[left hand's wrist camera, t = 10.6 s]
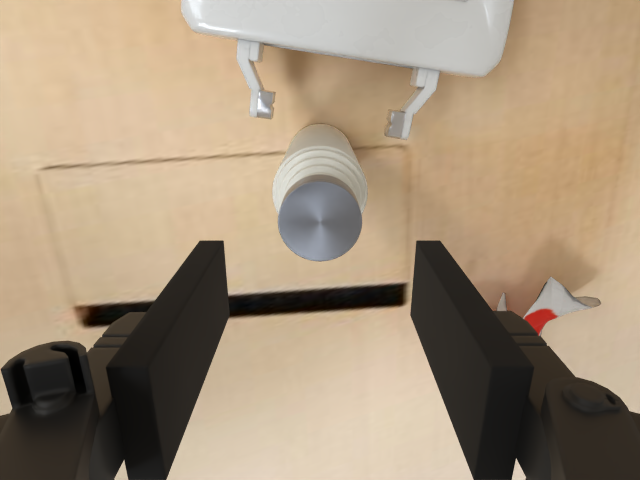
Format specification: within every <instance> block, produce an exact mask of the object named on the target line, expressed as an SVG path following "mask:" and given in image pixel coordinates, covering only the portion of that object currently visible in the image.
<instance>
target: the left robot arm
mask: <svg viewBox="0 0 640 480" xmlns="http://www.w3.org/2000/svg"><path fill="white" fill-rule="evenodd" d="M228 318H229V302H228V290H227V278H226V266H225V254H224V241H199V243H198V244H197V245H196V247H195V248H194V249H193V251H192V252H191V253H190V255H189V256H188V257H187V259H186V260H185V261H184V263H183V264H182V265H181V267H180V268H179V269H178V271H177V272H176V273H175V275H174V276H173V277H172V279H171V280H170V281H169V283H168V284H167V285H166V287H165V288H164V289H163V291H162V292H161V293H160V295H159V296H158V298H157V299H156V300H155V302H154V303H153V304H152V306H151V307H150V308H149V310H148V311H147V312H129V313H128V314H126V315H124V316H123V317H121V318H120V319H118V320H116V321H115V322H113V323H112V324H111V325H110V327H109V328H108V329H107V330H106V331H105V332H104V334H103V335H102V337H100V338H99V339H98V341H97V342H96V343H95V344H94V347H93V348H91V349H90V350H89V351H88V352H86V348H85V347H84V346H83V345H81V344H80V343H77V342H71V341H58V342H50V343H46V344H42V345H38V346H35V347H33V348H30V349H28V350H26V351H23V352H21V353H20V354H18V355H16V356H15V357H13V358H12V359H10V360H9V361H8V362H7V363H6V364H5V365H4V366H3V367H2V368H1V372H2V375H3V378H4V382H5V385H6V388H7V392H8V395H9V398H10V402H11V405H12V410H11V413H10V414H6V415H2V416H0V480H114V478H115V476H116V474H117V472H118V470H119V468H120V466H121V464H122V462H123V461H124V460H125V465H126V470H127V475H128V480H166V479H167V476H168V474H169V471H170V469H171V466H172V463H173V461H174V458H175V456H176V453H177V450H178V448H179V445H180V443H181V440H182V437H183V435H184V432H185V430H186V427H187V424H188V422H189V419H190V417H191V414H192V411H193V409H194V406H195V404H196V401H197V398H198V396H199V393H200V391H201V388H202V385H203V383H204V380H205V378H206V375H207V372H208V370H209V367H210V365H211V362H212V359H213V357H214V354H215V352H216V349H217V346H218V344H219V341H220V339H221V336H222V333H223V331H224V328H225V326H226V323H227V320H228ZM411 318H412V320H413V323H414V326H415V328H416V331H417V333H418V336H419V339H420V341H421V344H422V346H423V349H424V352H425V354H426V357H427V359H428V362H429V365H430V367H431V370H432V372H433V375H434V378H435V380H436V383H437V385H438V388H439V391H440V393H441V396H442V398H443V401H444V404H445V406H446V409H447V411H448V414H449V417H450V419H451V422H452V424H453V427H454V430H455V432H456V435H457V437H458V440H459V443H460V445H461V448H462V450H463V453H464V456H465V458H466V461H467V463H468V466H469V469H470V471H471V474H472V476H473V479H474V480H512V475H513V470H514V465H515V460H516V458H517V460H518V462H519V464H520V466H521V468H522V470H523V472H524V474H525V476H526V480H640V414H638V413H634V412H630V411H629V410H628V408H627V406H626V405H625V404H624V402H623V401H622V400H621V398H620V397H618V396H617V395H616V394H614V393H613V392H611V391H610V390H609V389H607V388H605V387H603V386H601V385H599V384H597V383H595V382H592V381H588V380H585V379H581V378H577V377H575V376H574V375H573V374H572V372H571V371H570V370H569V369H568V368H567V367H566V365H565V364H564V363H563V362H562V361H561V360H560V358H559V357H558V356H557V355H556V354H555V353H554V351H553V350H552V349H551V348H550V347H549V346H547V343H546V342H545V341H544V340H543V339H542V338H541V336H538V333H537V332H536V331H535V329H534V328H533V327H532V326H531V325H530V324H529V322H528V321H526V320H525V319H523V318H521V317H520V316H518V315H517V314H515V313H513V312H512V311H492V310H491V308H490V307H489V306H488V304H487V303H486V302H485V300H484V299H483V298H482V296H481V295H480V293H479V292H478V291H477V289H476V288H475V287H474V285H473V284H472V283H471V281H470V280H469V279H468V277H467V276H466V275H465V273H464V272H463V271H462V269H461V268H460V267H459V265H458V264H457V263H456V261H455V260H454V259H453V257H452V256H451V255H450V253H449V252H448V251H447V249H446V248H445V247H444V245H443V244H442V243H441V241H416V253H415V266H414V278H413V290H412V302H411Z"/></svg>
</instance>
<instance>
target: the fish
mask: <svg viewBox="0 0 640 480" xmlns="http://www.w3.org/2000/svg"><path fill="white" fill-rule="evenodd" d="M600 304H601V302H600V300H599V299H598V298H592V297H576V298H575V297H573V296H572V295H571V294H570V293H569V292H568V290H567V289H566V288H565V287H564V286H563V285H562V284H560V283H559V282H558V281H556V280H555V279H554V278H552V277H550V278H549V280H548V281H547V282H546V283H545V285H544V287H543V288H542V290H541V292H540V294H539V296H538V298H537V300H536V301H535V303H534V304H533V305H532V307H531V308H530V309H529V311H528V312H527V313H526V315H525V316H524V317H523V319H525V320H526V321H528V322H529V324H530V325H531V326H532V327H533V328H534V329H535V331H536V332H537V333H538V336H541V332H542V329H543V327H544V325H545V324H546V323H547V322H548V321H549V320H552V319H555V318H557V317H560V316H562V315H565V314H568V313H571V312H574V311H578V310H584V309H589V308H592V307H596V306H599V305H600ZM497 311H507V307H506V298H505V293H503V294H502V296H501V299H500V301H499V304H498V307H497Z"/></svg>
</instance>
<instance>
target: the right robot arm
mask: <svg viewBox="0 0 640 480" xmlns="http://www.w3.org/2000/svg"><path fill="white" fill-rule="evenodd" d="M513 4H514V0H181V12H182V15H183V17H184V19H185V20H186V22H187V24H188V25H189V27H190V28H191V29H192V30H193V31H194V32H196V33H198V34H201V35H204V36H209V37H215V38H222V39H228V40H234V41H238V46H237V61H238V63H239V66H240V68H241V70H242V72H243V75H244V77H245V79H246V82H247V84H248V86H249V89H251V100H250V117H256V118H264V119H272V118H273V114H274V107H273V105H272V104H273V103H274V102H275V95H276V92H272V91H266V90H264V87H263V85H262V82H261V80H260V77H259V75H258V72H257V70H256V67H255V65H254V62H259V63H261V62H262V58H263V48H264V45H266V46H272V47H279V48H285V49H291V50H298V51H304V52H310V53H317V54H323V55H329V56H336V57H342V58H348V59H355V60H361V61H367V62H374V63H380V64H387V65H393V66H399V67H406V68H412V69H413V70H412V75H411V81H410V85H411V86H413V87H418V88H417V89H416V90H415V92H414V93H413V94H412V95H411V97H410V98H409V99H408V100H407V102H406V103H405V104H404V105H403V107H402V108H401V109H400V111H397V110H388V115H387V121H388V123H387V124H386V125H385V131H384V135H385V136H386V137H392V138H397V139H404V140H407V139H408V136H409V133H410V128H411V124H412V119H413V114H416V113H417V112H418V110H419V109H420V108H421V107H422V106H423V105H424V103H425V102H426V101H427V100H428V99H429V97H430V96H431V95H432V94H433V93H434V92H435V90H436V87H437V83H438V79H439V74H440V73H444V74H450V75H456V76H463V77H470V78H478V77H484V76H486V75H487V74H488V73H489V72H491V71H492V70H493V69H494V68H495V67H496V66H497V65H498V64H499V62H500V60H501V58H502V54H503V51H504V48H505V44H506V40H507V35H508V31H509V26H510V21H511V16H512V10H513Z"/></svg>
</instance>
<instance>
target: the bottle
mask: <svg viewBox="0 0 640 480" xmlns="http://www.w3.org/2000/svg"><path fill="white" fill-rule="evenodd" d="M317 174H323V175H329V176H333V177H336V178H338V179H340V180H341V181H343V182H344V183H346V184H347V185H348V186H349V187H350V188H351V189H352V191H353V192H354V194H355V196H356V198H357V201H358V204H359V207H360V210H361V215H362V213H363V211H364V208H365V206H366V202H367V195H368V188H367V182H366V178H365V175H364V173H363V171H362V169H361V167H360V164H359V162H358V160H357V158H356V156H355V154H354V152H353V150H352V147H351V145H350V143H349V141H348V139H347V138H346V136H345V135H344V134H343V133H342V132H341V131H340V130H338V129H337V128H335V127H333V126H330V125H327V124H313V125H310V126H307V127H305V128H303V129H302V130H300V131H299V132H298V133H297V134H296V135H295V136H294V138H293V139H292V141H291V143H290V145H289V147H288V150H287V152H286V154H285V156H284V158H283V160H282V162H281V165H280V167H279V169H278V171H277V173H276V175H275V178H274V182H273V189H272V195H273V202H274V206H275V208H276V211H277V213H278V215H279V210H280V207H281V204H282V201H283V198H284V196H285V194H286V192H287V191H288V190H289V188H290V187H291V186H292V185H293V184H294V183H296V182H297V181H299V180H300V179H302V178H304V177H307V176H311V175H317Z"/></svg>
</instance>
